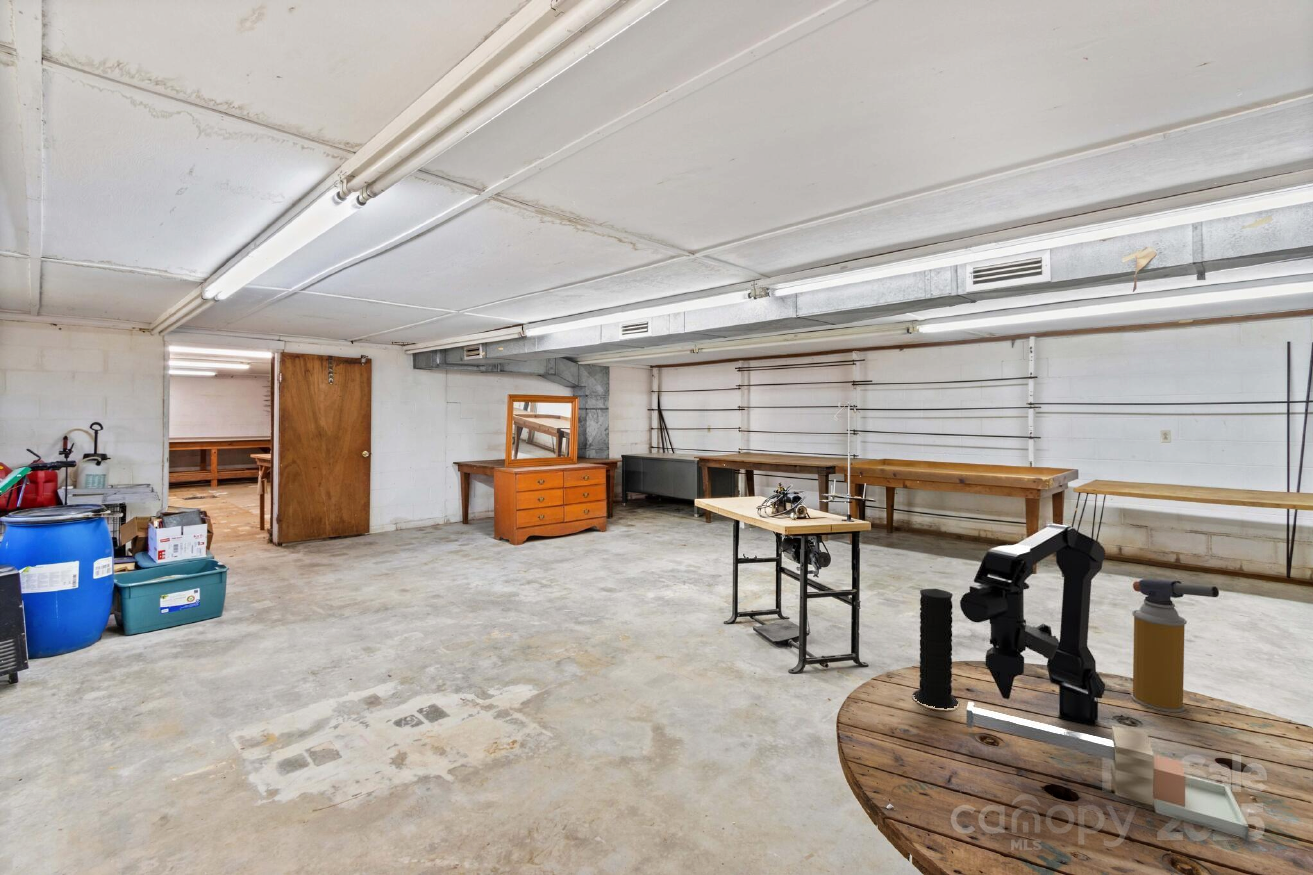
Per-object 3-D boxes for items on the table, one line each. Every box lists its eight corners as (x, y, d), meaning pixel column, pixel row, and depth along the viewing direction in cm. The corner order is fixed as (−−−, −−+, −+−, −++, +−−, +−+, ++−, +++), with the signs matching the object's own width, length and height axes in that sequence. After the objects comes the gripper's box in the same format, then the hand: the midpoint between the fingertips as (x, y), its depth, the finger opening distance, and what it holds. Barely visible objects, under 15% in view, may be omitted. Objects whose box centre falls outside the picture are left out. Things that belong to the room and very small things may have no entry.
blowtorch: (1148, 689, 139) (1150, 566, 138) (1229, 723, 124) (1232, 585, 123) (1118, 694, 137) (1120, 569, 136) (1197, 729, 121) (1200, 588, 120)
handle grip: (962, 697, 136) (917, 686, 142) (963, 587, 135) (917, 580, 141) (955, 715, 128) (907, 702, 133) (956, 597, 127) (908, 590, 133)
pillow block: (1115, 795, 100) (1116, 746, 100) (1111, 771, 107) (1111, 725, 107) (1152, 805, 98) (1153, 755, 97) (1146, 780, 104) (1146, 733, 104)
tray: (1155, 812, 96) (1155, 800, 96) (1145, 775, 106) (1145, 764, 106) (1248, 839, 90) (1248, 826, 90) (1227, 796, 100) (1228, 785, 100)
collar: (1153, 798, 99) (1154, 768, 98) (1149, 782, 103) (1150, 753, 103) (1185, 807, 96) (1185, 776, 96) (1179, 790, 100) (1180, 761, 100)
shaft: (966, 727, 115) (966, 709, 115) (968, 718, 118) (968, 701, 118) (1134, 770, 100) (1134, 750, 100) (1131, 759, 104) (1131, 740, 103)
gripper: (1056, 635, 103) (1056, 720, 104) (1055, 605, 118) (1055, 679, 119) (984, 624, 109) (985, 704, 110) (992, 597, 125) (993, 667, 125)
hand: (1007, 688), depth 116 cm, fingers open, 9 cm apart
